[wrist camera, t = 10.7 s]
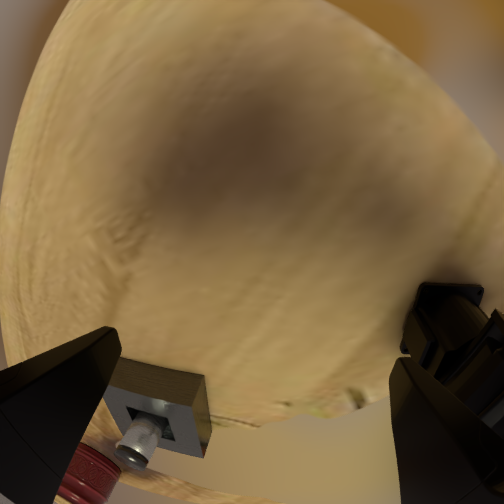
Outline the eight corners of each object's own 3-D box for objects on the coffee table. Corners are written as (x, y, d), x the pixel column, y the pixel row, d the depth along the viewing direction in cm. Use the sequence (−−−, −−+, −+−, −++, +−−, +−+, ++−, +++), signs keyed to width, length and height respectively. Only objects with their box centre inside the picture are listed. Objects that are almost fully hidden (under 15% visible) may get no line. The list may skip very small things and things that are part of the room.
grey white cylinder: (146, 390, 26) (111, 448, 19) (174, 401, 26) (142, 463, 19) (148, 406, 28) (116, 460, 20) (174, 417, 27) (146, 474, 20)
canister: (107, 474, 46) (81, 527, 29) (63, 441, 43) (29, 494, 27) (132, 473, 41) (102, 538, 25) (80, 436, 39) (40, 501, 23)
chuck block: (203, 375, 25) (191, 406, 22) (212, 431, 29) (203, 458, 25) (55, 337, 28) (36, 356, 24) (81, 393, 31) (67, 412, 28)
